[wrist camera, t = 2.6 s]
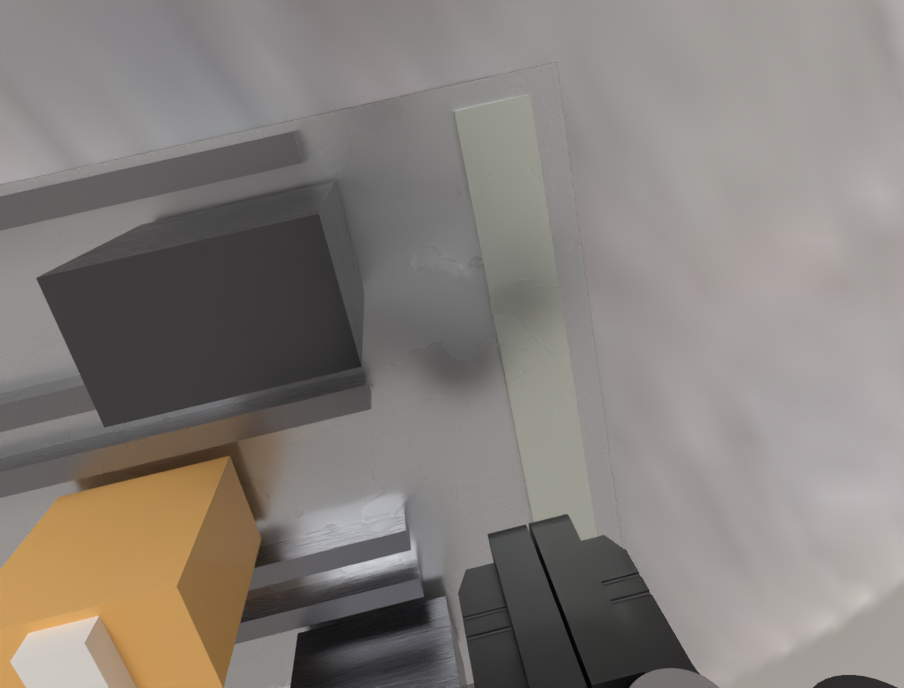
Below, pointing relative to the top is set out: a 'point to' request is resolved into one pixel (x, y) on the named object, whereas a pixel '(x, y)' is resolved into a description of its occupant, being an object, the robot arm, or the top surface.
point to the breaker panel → (399, 346)
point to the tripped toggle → (131, 584)
